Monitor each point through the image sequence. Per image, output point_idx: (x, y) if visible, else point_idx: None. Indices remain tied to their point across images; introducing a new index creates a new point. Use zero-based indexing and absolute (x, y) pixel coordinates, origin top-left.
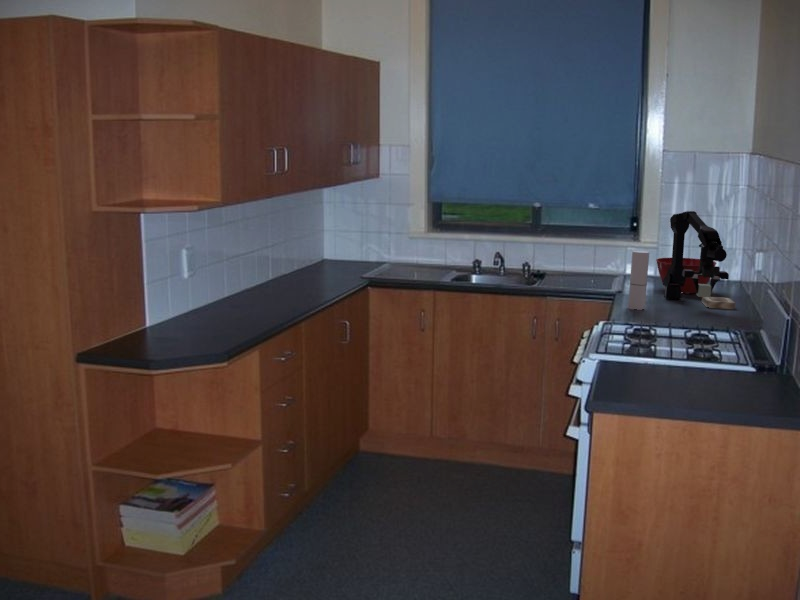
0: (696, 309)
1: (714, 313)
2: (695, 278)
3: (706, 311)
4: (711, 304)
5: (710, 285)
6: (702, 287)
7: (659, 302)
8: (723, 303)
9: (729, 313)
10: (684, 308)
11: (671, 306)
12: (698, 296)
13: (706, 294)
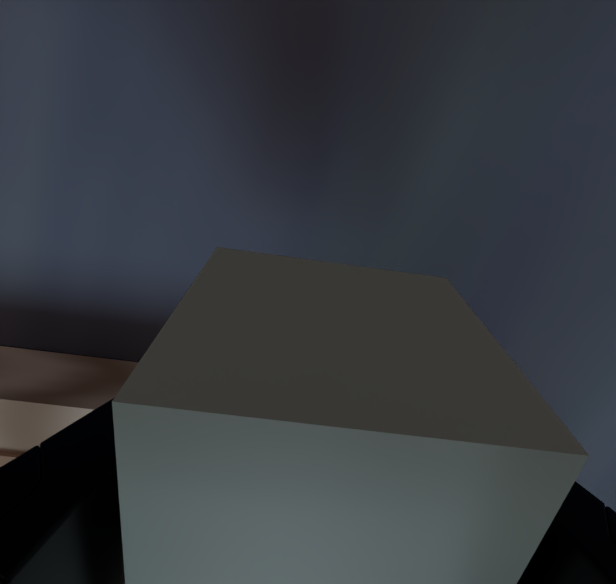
0: (379, 268)
1: (226, 8)
2: None
3: (297, 155)
4: None
5: (125, 519)
6: (448, 392)
7: None
8: (20, 388)
9: (4, 51)
10: (500, 305)
11: (589, 387)
12: (444, 287)
13: (296, 279)
